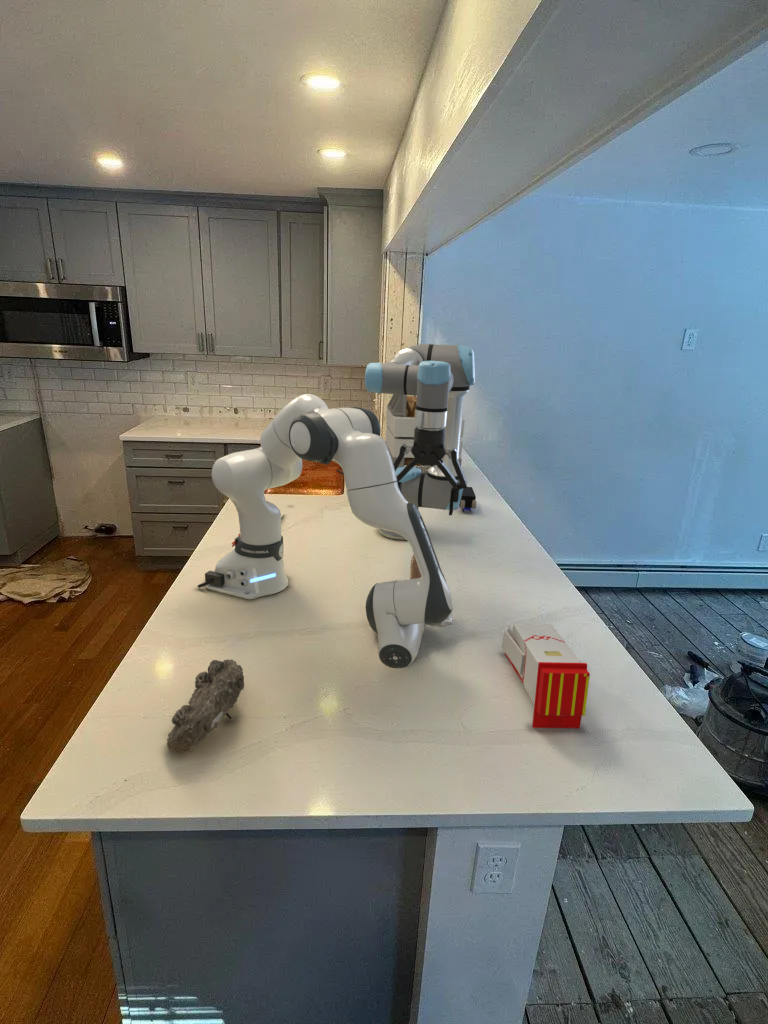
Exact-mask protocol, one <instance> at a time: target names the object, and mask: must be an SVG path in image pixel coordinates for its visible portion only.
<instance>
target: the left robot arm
mask: <svg viewBox="0 0 768 1024" xmlns="http://www.w3.org/2000/svg"><path fill="white" fill-rule="evenodd" d="M381 430H382V428H381V423H380V421H379V419H378V417H377V415H376V414H375V413H374V412H373V411H372V410H369V409H367V408H364V407H359V406H350V407H333V408H329V407H328V405H327V404H326V402H325V401H324V400H323V399H322V398H321V397H319V396H317V395H314V394H312V393H303V394H299V395H298V396H297V397H295V398H293V399H292V400H291V401H289V402H288V403H287V404H286V405H284V407H282V409H281V410H280V411H279V412H278V413H277V414H276V415H275V416H274V417H273V418H272V420H271V421H270V422H269V423H268V425H267V426H266V427H265V428H264V429H263V430H262V432H261V434H260V438H259V440H260V441H259V442H260V446H259V447H256V448H253V449H246V450H241V451H235V452H232V453H228V454H226V455H224V456H221V457H220V458H217V459H216V460H215V461H214V462H213V465H212V468H211V480H212V483H213V485H214V487H215V488H216V490H217V491H218V492H219V493H221V494H222V495H224V496H225V497H227V498H228V499H229V500H230V501H231V502H232V503H233V505H234V507H235V508H236V509H235V510H236V512H237V515H238V523H239V533H238V535H237V536H236V537H235V538H234V540H233V541H232V542H231V547H232V548H233V547H234V548H233V549H231V551H229V552H227V553H226V554H224V556H222V557H221V558H220V559H219V560H218V561H217V562H216V565H215V568H214V571H213V570H208V571H207V572H205V573H204V580H205V581H204V582H202V583H199V584H197V588H198V589H200V588H203V587H205V588H206V589H208V590H211V591H215V592H218V593H222V594H227V595H230V596H233V597H238V598H242V599H245V600H254V599H257V598H260V597H265V596H270V595H275V594H277V593H279V592H283V590H286V588H287V587H288V586H289V579H288V577H287V573H286V569H285V562H284V553H285V544H284V536H283V535H282V520H281V518H282V512H281V510H280V508H279V507H278V506H277V505H276V504H274V503H273V502H270V501H268V500H266V496H265V491H266V490H271V489H273V488H278V487H282V486H285V485H288V484H289V483H291V482H293V481H295V480H297V479H298V478H299V477H301V474H302V471H303V460H304V461H306V462H307V461H309V462H314V463H319V464H322V465H326V466H327V465H329V464H331V462H335V463H336V464H338V465H339V466H340V468H341V469H342V470H341V471H342V472H343V473H344V475H343V477H344V484H345V491H346V496H347V501H348V505H349V508H350V510H351V513H352V514H353V516H354V517H355V519H357V520H358V521H359V522H361V523H362V524H364V525H367V526H368V527H371V528H374V529H378V530H379V529H383V530H387V531H391V532H394V533H397V534H399V535H401V536H403V537H404V538H405V539H406V540H405V541H407V542H408V543H409V545H410V548H411V550H412V553H413V554H414V556H415V559H416V562H417V565H418V567H419V570H420V573H421V577H420V578H416V579H410V578H409V579H401V580H398V579H397V580H388V581H381V582H376V583H375V584H373V586H372V587H371V588H370V590H369V592H368V594H367V596H366V600H365V615H366V619H367V622H368V624H369V626H370V628H371V629H372V631H373V632H374V633H375V634H376V635H377V639H378V642H377V643H378V645H377V655H378V659H379V661H380V662H381V663H382V664H383V665H384V666H386V667H388V668H391V669H396V670H397V669H398V670H399V669H400V670H401V669H405V668H407V667H409V666H410V665H412V663H414V661H415V659H416V657H417V655H418V653H419V650H420V647H421V643H422V636H423V634H424V631H425V627H426V626H433V627H439V628H440V627H441V628H443V627H446V626H451V625H452V623H453V617H452V615H453V609H454V608H453V607H454V600H453V599H454V598H453V593H452V590H451V589H450V585H449V584H448V582H447V579H446V578H445V575H444V573H443V571H442V568H441V566H440V562H439V560H438V557H437V554H436V551H435V549H434V546H433V543H432V540H431V537H430V535H429V532H428V529H427V527H426V524H425V521H424V519H423V517H422V515H421V512H420V510H419V508H418V509H417V507H416V506H415V505H414V504H411V503H408V502H407V501H406V499H405V498H404V497H403V495H402V494H401V492H400V490H399V487H398V483H397V478H396V473H395V469H394V465H393V461H392V458H391V455H390V452H389V449H388V447H387V444H386V441H385V438H383V437H382V436H381V433H382V431H381Z"/></svg>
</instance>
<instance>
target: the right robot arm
mask: <svg viewBox="0 0 768 1024" xmlns="http://www.w3.org/2000/svg"><path fill="white" fill-rule="evenodd" d="M475 365H476V364H475V353H474V350H473V348H472V347H470V346H466V345H465V346H464V345H459V344H436V343H435V344H434V343H433V344H432V343H419V344H415V345H411V346H408V347H405V348H403V349H401V350H399V351H398V352H396V353H395V355H394V357H393V358H392V359H389V360H388V361H387V362H380V361H379V362H370V363H368V364H367V365H366V368H365V372H364V387H365V389H366V391H367V392H368V393H374V394H378V395H379V394H384V395H385V394H387V395H393V394H401V395H407V396H415V397H417V402H416V412H415V425H416V426H417V427H416V428H415V429H414V444H413V447H410V446H407V445H406V444H403V445H402V446H401V448H400V453H399V456H398V458H397V459H396V461H395V463H394V469H395V473H396V478H397V483H398V487H399V490H400V492H401V494H402V495H403V497H404V498H405V499H406V501H407V502H408V503H411V504H414V505H415V506H416V507H417V509H418V510H419V508H425V509H435V510H443V511H448V516H453V513H454V511H456V510H458V509H459V508H460V507H459V505H460V500H461V496H462V492H463V489H465V488H466V487H468V481H467V479H466V477H465V474H464V471H463V469H462V465H461V466H460V463H459V461H458V458H459V446H460V439H461V438H460V435H461V423H462V419H463V410H464V402H465V401H464V399H465V395H467V393H468V392H470V388H471V386H474V385H475V382H476V367H475ZM410 451H411V452H412V454H413V456H414V457H415V458H414V459H413V460H412V461H411V462H410V463H409V464H408V465H405V466H404V467H400V468H398V466H399V464H400V463H401V461H402V459H403V458H404V456H405V455H407V454H408V453H409V452H410ZM417 463H419V464H420V465H422V466H421V467H426V466H425V465H428V466H427V467H428V468H427V470H426V473H423V472H422V469H421V468H420V467H417V466H415V465H416V464H417ZM335 472H337V473H339V474H341V475H343V476H344V473H343V471H342V470H341V471H340V470H339V469H336V471H335ZM378 533H379V534H380V535H381V536H382V537H385V538H387V539H389V540H395V541H407V540H406V539H405V538H404V537H403V536H401V535H399V534H397V533H394V532H391V531H387V530H383V529H378Z"/></svg>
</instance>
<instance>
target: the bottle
mask: <svg viewBox="0 0 768 1024" xmlns="http://www.w3.org/2000/svg"><path fill="white" fill-rule="evenodd" d="M409 566H410V567H409V579H416V578H420V577H421V573H420V570H419V567H418V565H417V562H416V559H415V556H414V553H413V554H412V557H411V560H410V565H409Z"/></svg>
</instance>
